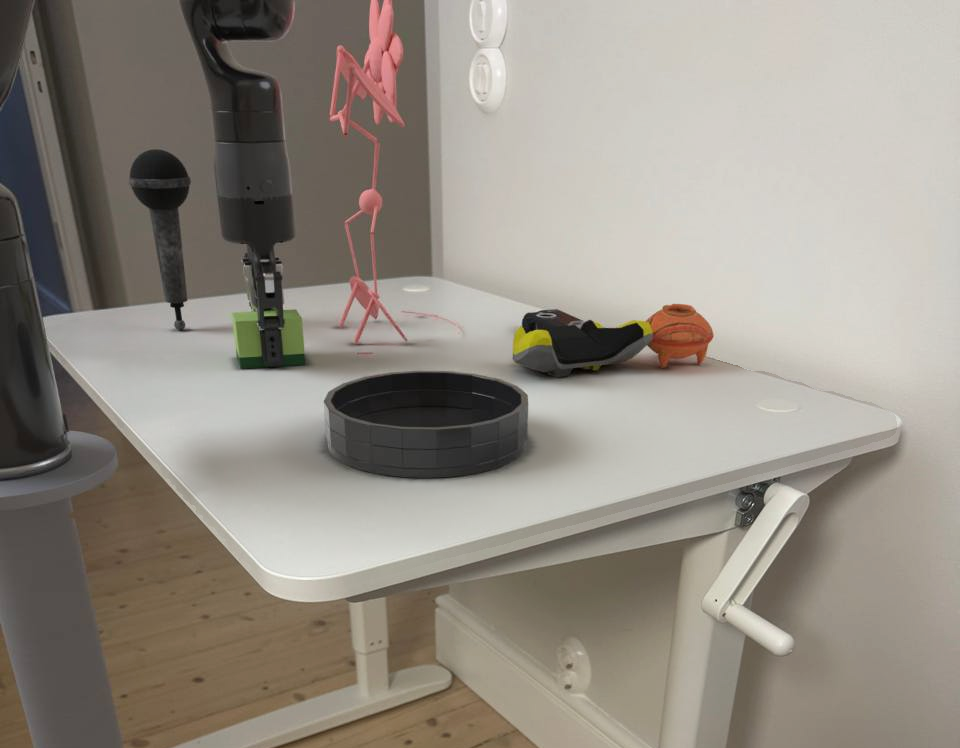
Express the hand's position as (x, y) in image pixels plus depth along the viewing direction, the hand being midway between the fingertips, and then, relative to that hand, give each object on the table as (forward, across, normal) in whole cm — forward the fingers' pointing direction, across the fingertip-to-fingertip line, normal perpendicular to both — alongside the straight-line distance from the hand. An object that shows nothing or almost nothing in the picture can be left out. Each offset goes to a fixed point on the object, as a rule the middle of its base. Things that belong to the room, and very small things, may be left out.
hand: (270, 358), depth 109 cm
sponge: (0, 0, 0) cm, 0 cm away
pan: (0, +31, +10) cm, 33 cm away
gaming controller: (+1, +12, +31) cm, 33 cm away
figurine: (+1, -10, +17) cm, 20 cm away
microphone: (+1, -18, -9) cm, 20 cm away
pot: (+1, +12, +43) cm, 45 cm away
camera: (+1, -4, +35) cm, 35 cm away
